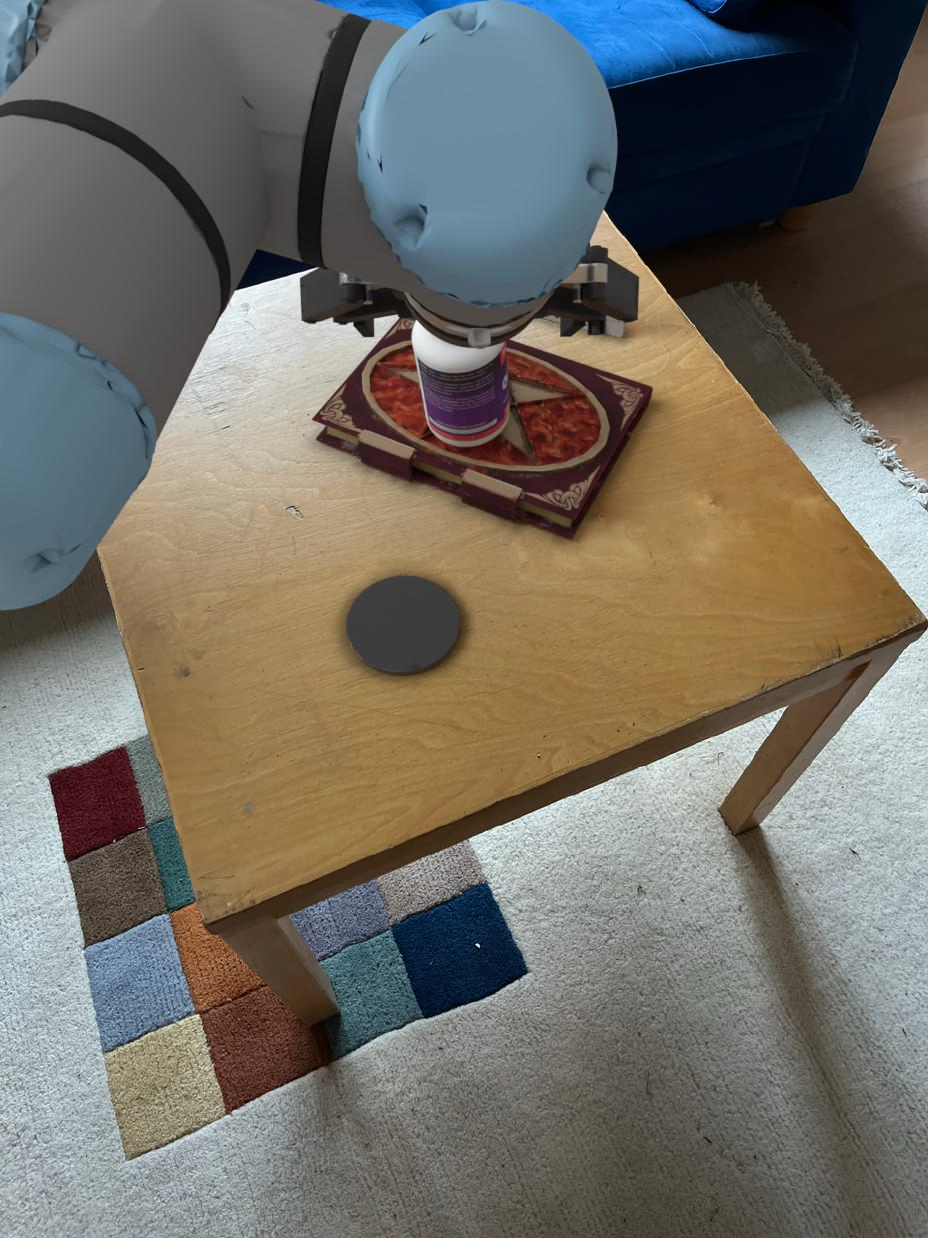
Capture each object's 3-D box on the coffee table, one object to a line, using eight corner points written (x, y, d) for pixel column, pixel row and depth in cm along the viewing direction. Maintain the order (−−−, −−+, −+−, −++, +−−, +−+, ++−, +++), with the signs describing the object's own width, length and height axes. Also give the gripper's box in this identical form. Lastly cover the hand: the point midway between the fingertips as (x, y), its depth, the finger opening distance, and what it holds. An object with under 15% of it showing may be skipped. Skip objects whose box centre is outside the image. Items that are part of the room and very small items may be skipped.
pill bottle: (523, 434, 81) (520, 317, 68) (444, 463, 80) (426, 351, 68) (490, 375, 85) (481, 254, 72) (414, 403, 84) (392, 285, 71)
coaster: (335, 668, 74) (334, 664, 73) (359, 573, 79) (358, 569, 79) (450, 681, 73) (450, 678, 72) (466, 584, 78) (466, 581, 78)
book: (648, 407, 90) (657, 369, 86) (568, 548, 80) (574, 513, 76) (413, 327, 98) (410, 289, 93) (312, 447, 87) (304, 410, 83)
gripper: (202, 341, 39) (288, 373, 60) (749, 340, 39) (645, 372, 60) (190, 161, 37) (283, 258, 58) (760, 162, 38) (650, 258, 59)
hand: (467, 316), depth 59 cm, fingers open, 13 cm apart
